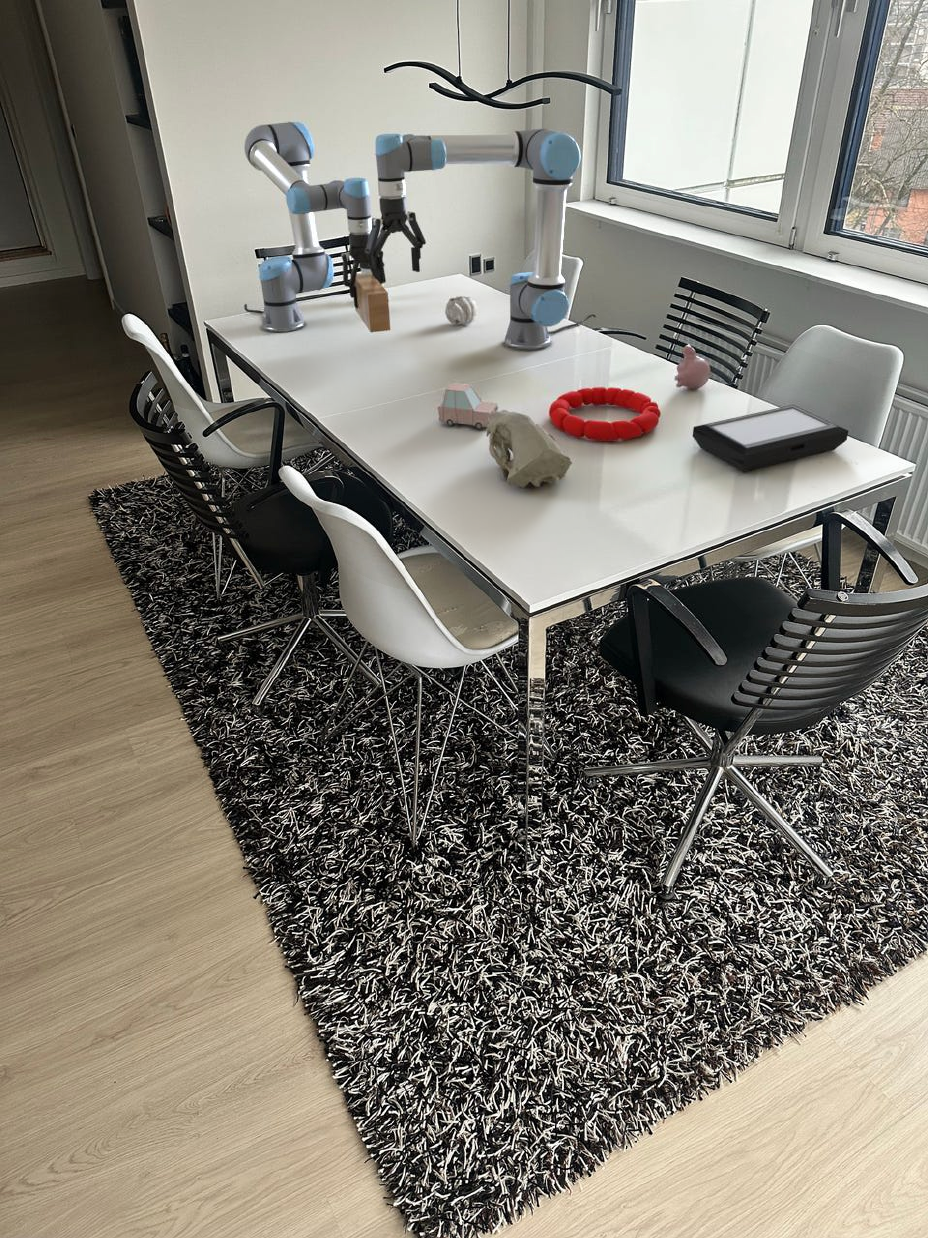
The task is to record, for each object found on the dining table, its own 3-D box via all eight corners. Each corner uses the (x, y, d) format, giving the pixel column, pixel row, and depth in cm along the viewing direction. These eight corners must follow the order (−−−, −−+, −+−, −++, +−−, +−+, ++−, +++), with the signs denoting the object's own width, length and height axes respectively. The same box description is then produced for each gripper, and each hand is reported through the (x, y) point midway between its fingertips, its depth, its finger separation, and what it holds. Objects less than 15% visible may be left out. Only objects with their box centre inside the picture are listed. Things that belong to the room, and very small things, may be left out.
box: (355, 310, 300) (352, 274, 294) (373, 308, 302) (371, 272, 295) (370, 332, 280) (367, 294, 273) (390, 330, 281) (387, 292, 275)
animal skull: (496, 517, 219) (521, 479, 201) (463, 429, 225) (484, 384, 207) (557, 503, 225) (586, 465, 206) (523, 417, 231) (549, 373, 212)
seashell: (437, 324, 323) (436, 295, 317) (473, 317, 329) (473, 289, 323) (451, 331, 315) (450, 302, 310) (487, 324, 321) (487, 295, 316)
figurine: (665, 387, 264) (669, 347, 257) (693, 380, 268) (698, 340, 261) (686, 396, 257) (690, 355, 250) (714, 388, 262) (720, 348, 255)
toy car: (488, 432, 240) (488, 396, 234) (436, 426, 244) (434, 390, 239) (499, 419, 247) (499, 384, 241) (448, 413, 252) (447, 379, 246)
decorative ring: (589, 435, 224) (684, 402, 234) (527, 398, 247) (617, 369, 256) (589, 461, 229) (683, 427, 238) (529, 422, 251) (617, 393, 260)
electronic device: (745, 452, 210) (694, 423, 225) (741, 476, 213) (691, 446, 228) (849, 427, 220) (793, 401, 235) (844, 450, 224) (789, 423, 239)
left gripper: (332, 237, 278) (339, 312, 292) (392, 231, 282) (397, 306, 296) (328, 232, 284) (335, 305, 298) (387, 227, 288) (392, 300, 302)
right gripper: (363, 204, 241) (370, 285, 253) (435, 191, 254) (438, 269, 266) (348, 201, 246) (355, 280, 258) (419, 189, 259) (423, 265, 271)
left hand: (366, 305), depth 297 cm, fingers closed on box, 6 cm apart
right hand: (397, 275), depth 262 cm, fingers open, 13 cm apart
